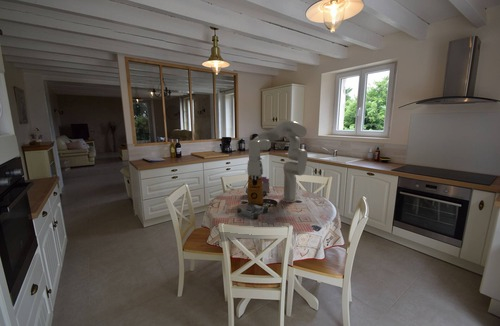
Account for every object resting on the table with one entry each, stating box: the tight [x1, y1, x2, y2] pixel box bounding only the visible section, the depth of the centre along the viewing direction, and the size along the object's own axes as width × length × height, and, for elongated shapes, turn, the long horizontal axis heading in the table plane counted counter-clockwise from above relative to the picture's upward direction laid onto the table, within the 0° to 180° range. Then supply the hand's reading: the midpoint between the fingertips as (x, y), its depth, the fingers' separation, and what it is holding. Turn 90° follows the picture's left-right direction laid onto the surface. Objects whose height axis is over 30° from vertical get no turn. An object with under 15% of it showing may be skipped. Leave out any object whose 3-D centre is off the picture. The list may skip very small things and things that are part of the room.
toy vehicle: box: [245, 176, 270, 196], centre depth 192 cm, size 9×20×15 cm, turn 107°
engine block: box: [244, 204, 256, 214], centre depth 153 cm, size 6×4×5 cm
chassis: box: [236, 202, 269, 220], centre depth 156 cm, size 18×15×4 cm
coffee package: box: [247, 175, 264, 206], centre depth 173 cm, size 10×12×22 cm
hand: (255, 184), depth 152 cm, fingers closed
